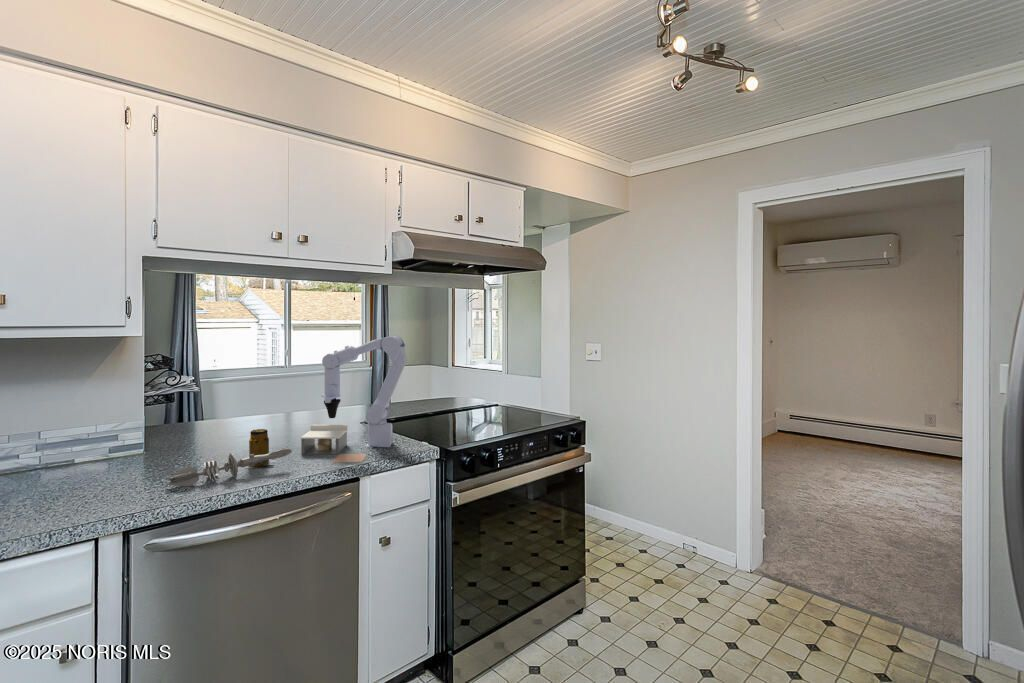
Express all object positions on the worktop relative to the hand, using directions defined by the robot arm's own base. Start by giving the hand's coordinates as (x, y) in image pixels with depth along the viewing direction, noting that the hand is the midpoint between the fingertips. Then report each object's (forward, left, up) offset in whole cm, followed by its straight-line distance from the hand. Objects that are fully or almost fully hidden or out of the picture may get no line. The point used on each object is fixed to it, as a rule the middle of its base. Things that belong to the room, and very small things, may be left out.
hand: (332, 417), depth 204 cm
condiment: (+16, +29, -11) cm, 34 cm away
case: (0, +11, -10) cm, 15 cm away
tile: (-12, +23, -10) cm, 28 cm away
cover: (0, +10, -4) cm, 11 cm away
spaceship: (+19, +42, -11) cm, 47 cm away
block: (0, +11, -10) cm, 14 cm away
